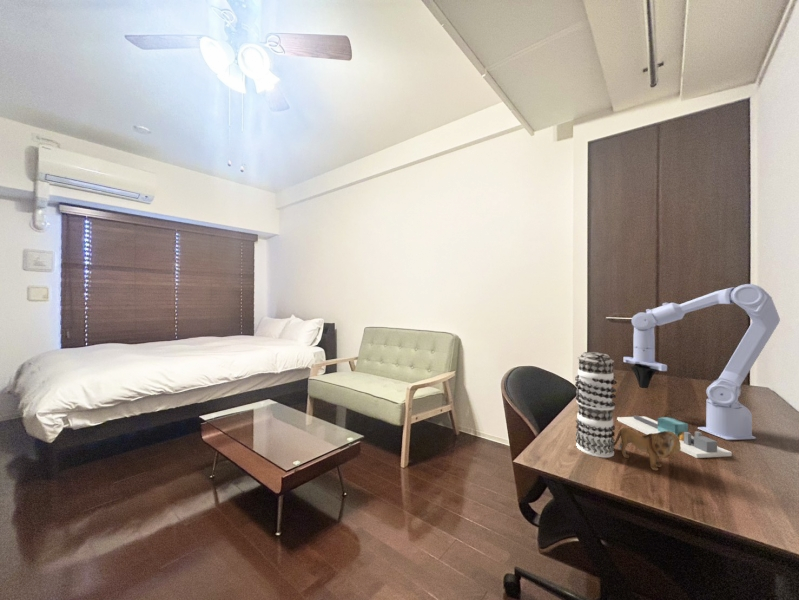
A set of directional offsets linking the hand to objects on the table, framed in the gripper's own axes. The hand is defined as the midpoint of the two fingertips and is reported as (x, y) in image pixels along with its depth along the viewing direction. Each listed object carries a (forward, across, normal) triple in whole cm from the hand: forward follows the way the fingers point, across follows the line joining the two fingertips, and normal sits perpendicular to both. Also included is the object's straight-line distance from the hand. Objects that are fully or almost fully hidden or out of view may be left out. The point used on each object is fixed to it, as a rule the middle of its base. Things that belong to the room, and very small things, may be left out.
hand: (643, 387), depth 105 cm
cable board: (+9, +16, -8) cm, 20 cm away
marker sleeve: (+8, +17, -8) cm, 21 cm away
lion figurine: (+10, +28, -28) cm, 40 cm away
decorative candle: (+10, +21, -35) cm, 42 cm away
